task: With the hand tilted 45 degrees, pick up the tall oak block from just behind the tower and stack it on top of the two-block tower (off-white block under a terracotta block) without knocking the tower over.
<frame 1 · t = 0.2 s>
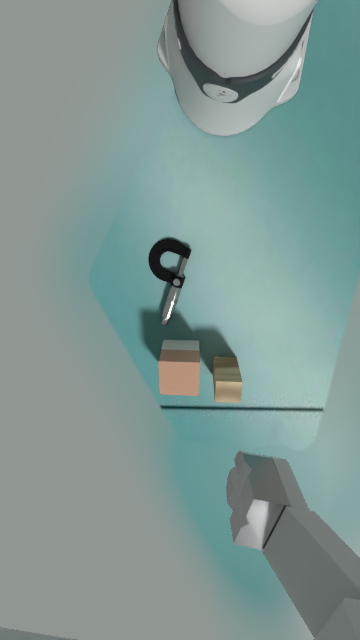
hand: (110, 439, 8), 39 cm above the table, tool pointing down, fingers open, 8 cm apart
micrometer: (163, 280, 47), on the table
oak block: (224, 366, 53), on the table
off-white tower block: (181, 354, 53), on the table, touching terracotta tower block
terracotta tower block: (180, 366, 49), point 4 cm above the table, touching off-white tower block
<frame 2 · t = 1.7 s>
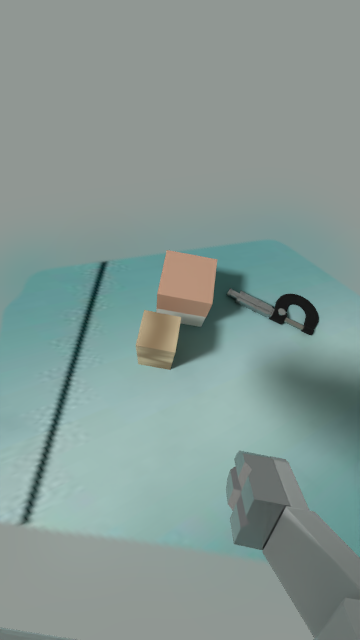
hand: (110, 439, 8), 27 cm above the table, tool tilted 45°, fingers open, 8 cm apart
micrometer: (272, 304, 44), on the table
oak block: (157, 351, 37), on the table
off-white tower block: (181, 303, 41), on the table, touching terracotta tower block
terracotta tower block: (185, 291, 38), point 4 cm above the table, touching off-white tower block
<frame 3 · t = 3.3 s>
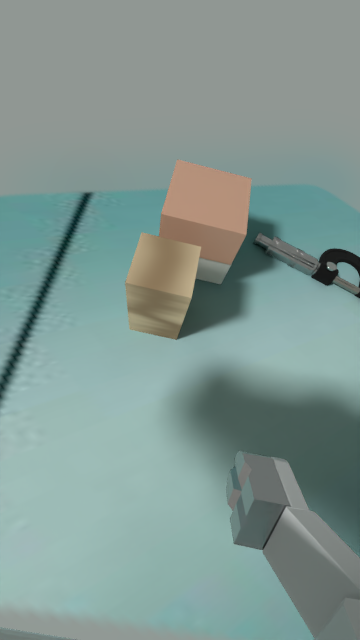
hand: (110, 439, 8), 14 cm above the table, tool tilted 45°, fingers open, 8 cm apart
micrometer: (313, 260, 32), on the table
oak block: (158, 313, 25), on the table
off-white tower block: (193, 253, 30), on the table
terracotta tower block: (200, 229, 26), point 4 cm above the table
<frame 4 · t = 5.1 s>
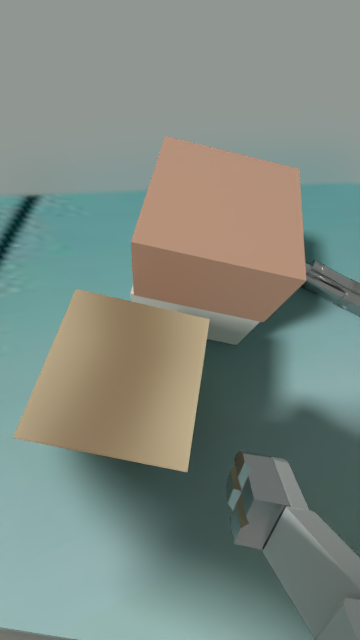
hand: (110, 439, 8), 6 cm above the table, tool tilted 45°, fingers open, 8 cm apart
oak block: (132, 404, 15), on the table
off-white tower block: (192, 291, 19), on the table, touching terracotta tower block
terracotta tower block: (207, 257, 15), point 4 cm above the table, touching off-white tower block
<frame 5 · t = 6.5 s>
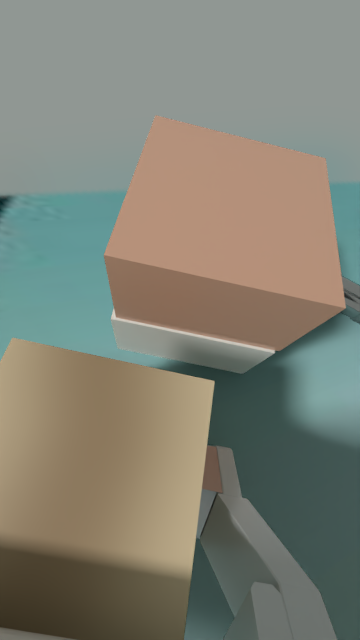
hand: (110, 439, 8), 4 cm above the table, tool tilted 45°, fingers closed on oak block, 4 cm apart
oak block: (116, 455, 12), on the table, touching gripper
off-white tower block: (189, 307, 16), on the table
terracotta tower block: (208, 267, 12), point 4 cm above the table
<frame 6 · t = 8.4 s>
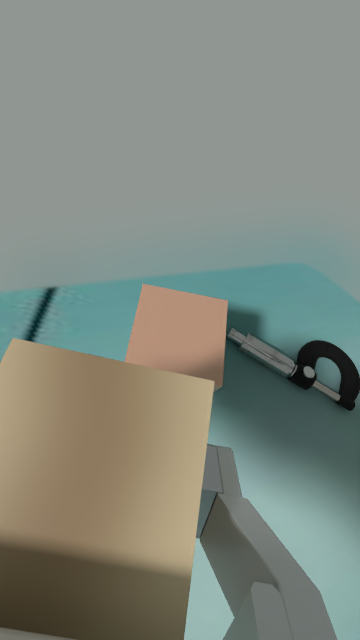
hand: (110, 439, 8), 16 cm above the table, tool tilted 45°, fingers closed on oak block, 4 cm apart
micrometer: (291, 354, 30), on the table
oak block: (116, 455, 12), point 12 cm above the table, touching gripper
terracotta tower block: (173, 348, 23), point 4 cm above the table, touching off-white tower block
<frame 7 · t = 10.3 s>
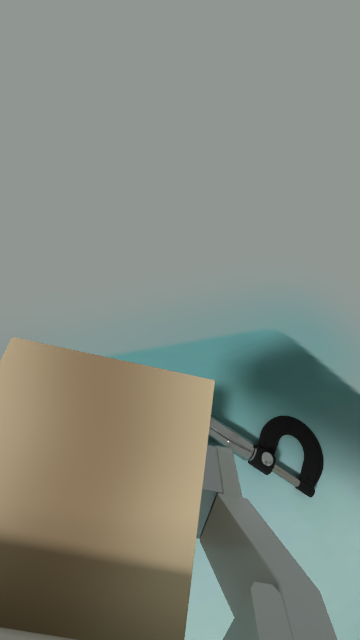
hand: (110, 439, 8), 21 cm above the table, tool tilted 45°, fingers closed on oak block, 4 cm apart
micrometer: (255, 430, 29), on the table
oak block: (116, 455, 12), point 16 cm above the table, touching gripper
when the fingers open (14 cm above the table, at t = 12.0 s): oak block drops 2 cm, resting on terracotta tower block.
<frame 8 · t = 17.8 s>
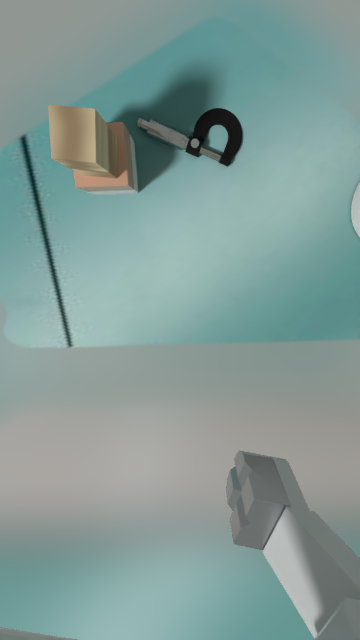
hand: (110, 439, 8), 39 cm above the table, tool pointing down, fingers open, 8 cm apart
micrometer: (192, 128, 39), on the table
oak block: (99, 157, 33), point 8 cm above the table, touching terracotta tower block
off-white tower block: (114, 169, 41), on the table, touching terracotta tower block
terracotta tower block: (107, 163, 37), point 4 cm above the table, touching oak block, off-white tower block
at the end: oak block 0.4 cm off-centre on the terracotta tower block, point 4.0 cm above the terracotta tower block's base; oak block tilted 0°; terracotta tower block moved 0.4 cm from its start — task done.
